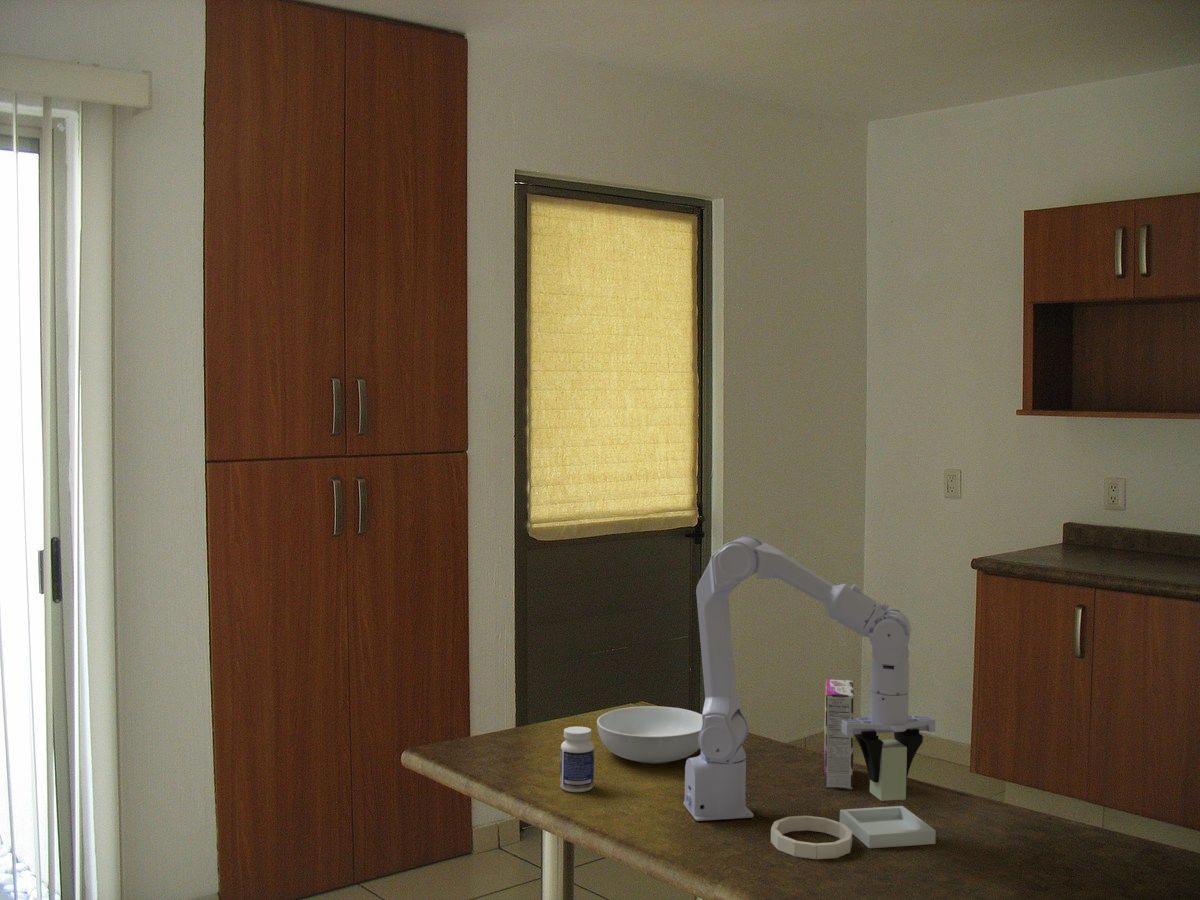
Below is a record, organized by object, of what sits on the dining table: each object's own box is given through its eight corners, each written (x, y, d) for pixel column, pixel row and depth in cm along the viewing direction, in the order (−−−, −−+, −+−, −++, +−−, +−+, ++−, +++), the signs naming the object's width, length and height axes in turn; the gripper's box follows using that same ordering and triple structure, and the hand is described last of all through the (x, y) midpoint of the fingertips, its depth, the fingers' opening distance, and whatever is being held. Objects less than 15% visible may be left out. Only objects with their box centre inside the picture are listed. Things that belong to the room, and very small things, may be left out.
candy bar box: (823, 768, 201) (825, 678, 201) (851, 770, 200) (853, 679, 200) (823, 788, 190) (825, 693, 190) (853, 790, 189) (855, 695, 189)
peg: (881, 800, 168) (882, 748, 167) (869, 791, 172) (870, 740, 171) (905, 799, 168) (906, 746, 168) (893, 790, 172) (894, 739, 172)
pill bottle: (600, 789, 188) (601, 731, 188) (572, 795, 185) (572, 736, 185) (581, 780, 193) (582, 723, 193) (553, 786, 190) (554, 728, 190)
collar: (788, 861, 159) (788, 847, 159) (760, 831, 170) (761, 818, 170) (864, 855, 161) (864, 842, 161) (832, 826, 173) (832, 813, 173)
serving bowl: (636, 734, 222) (637, 699, 222) (729, 753, 210) (729, 717, 209) (573, 759, 205) (574, 722, 205) (670, 782, 193) (670, 743, 192)
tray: (869, 848, 164) (869, 835, 164) (839, 822, 174) (839, 809, 174) (935, 843, 166) (935, 830, 166) (902, 818, 177) (902, 805, 177)
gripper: (856, 699, 164) (854, 790, 165) (946, 695, 167) (944, 785, 168) (836, 687, 171) (834, 775, 172) (923, 684, 174) (921, 770, 174)
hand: (887, 779), depth 170 cm, fingers closed on peg, 4 cm apart
